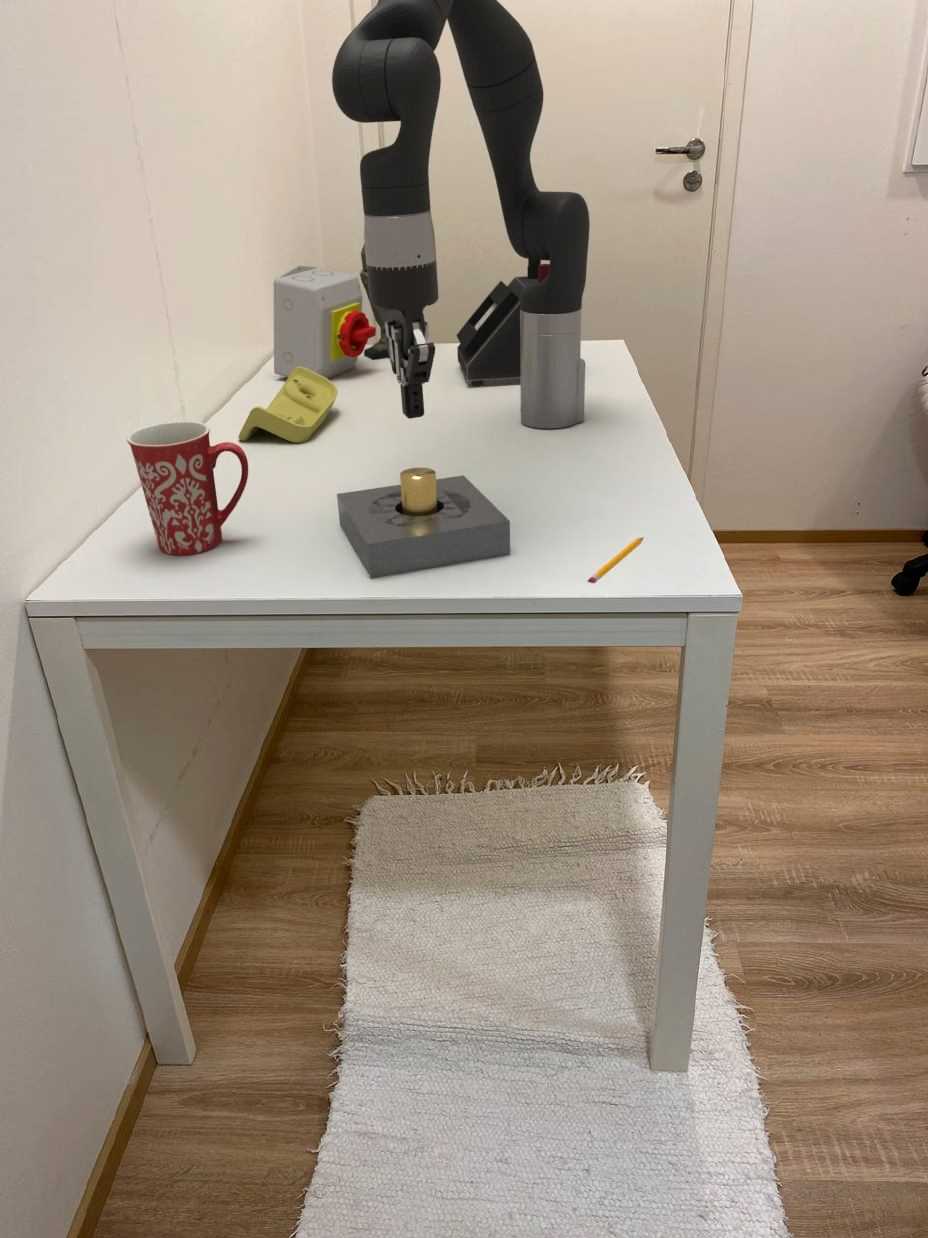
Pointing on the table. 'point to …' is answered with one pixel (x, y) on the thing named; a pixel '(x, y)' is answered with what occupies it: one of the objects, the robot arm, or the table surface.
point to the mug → (183, 484)
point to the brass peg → (418, 492)
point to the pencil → (615, 560)
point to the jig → (422, 528)
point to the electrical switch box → (318, 321)
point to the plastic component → (294, 407)
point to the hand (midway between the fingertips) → (413, 415)
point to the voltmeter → (496, 330)
